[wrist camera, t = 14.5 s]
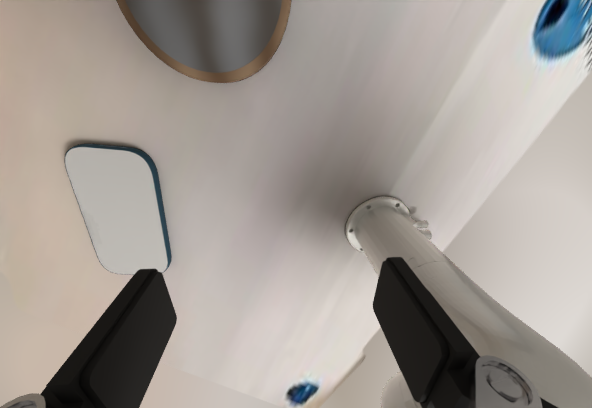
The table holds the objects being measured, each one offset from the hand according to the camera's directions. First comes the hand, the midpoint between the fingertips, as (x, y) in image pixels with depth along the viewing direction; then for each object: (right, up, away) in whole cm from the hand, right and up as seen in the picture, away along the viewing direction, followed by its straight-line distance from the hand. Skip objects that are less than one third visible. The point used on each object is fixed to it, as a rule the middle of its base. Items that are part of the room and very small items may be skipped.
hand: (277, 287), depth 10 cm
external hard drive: (-27, +2, +28) cm, 39 cm away
